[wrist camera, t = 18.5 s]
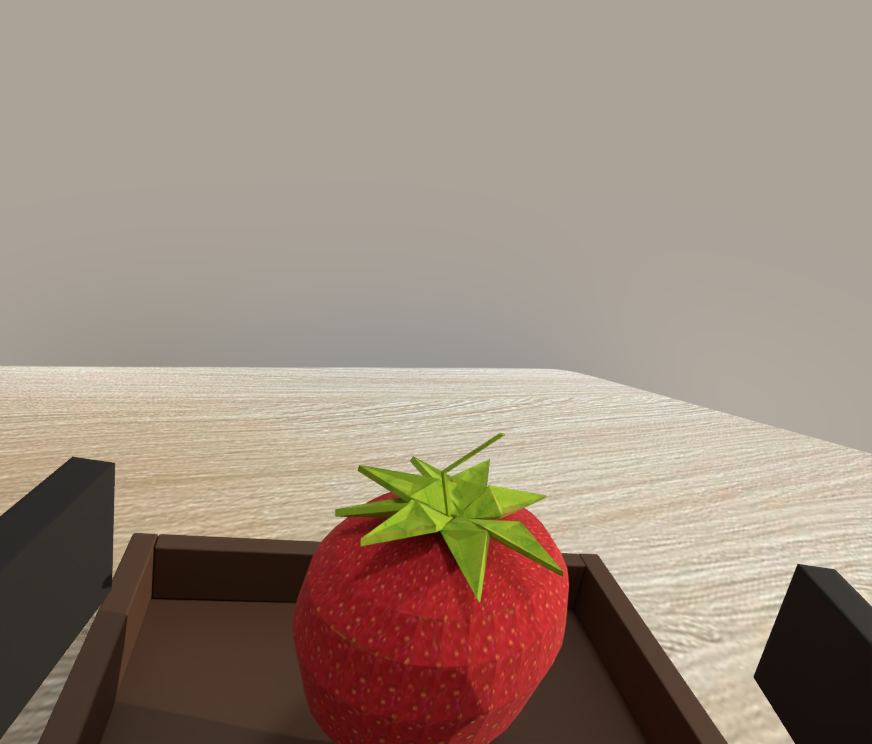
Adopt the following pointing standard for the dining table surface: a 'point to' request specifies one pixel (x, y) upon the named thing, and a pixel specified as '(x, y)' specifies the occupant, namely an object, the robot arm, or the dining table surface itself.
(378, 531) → the strawberry
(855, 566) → the dining table surface
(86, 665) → the tray
